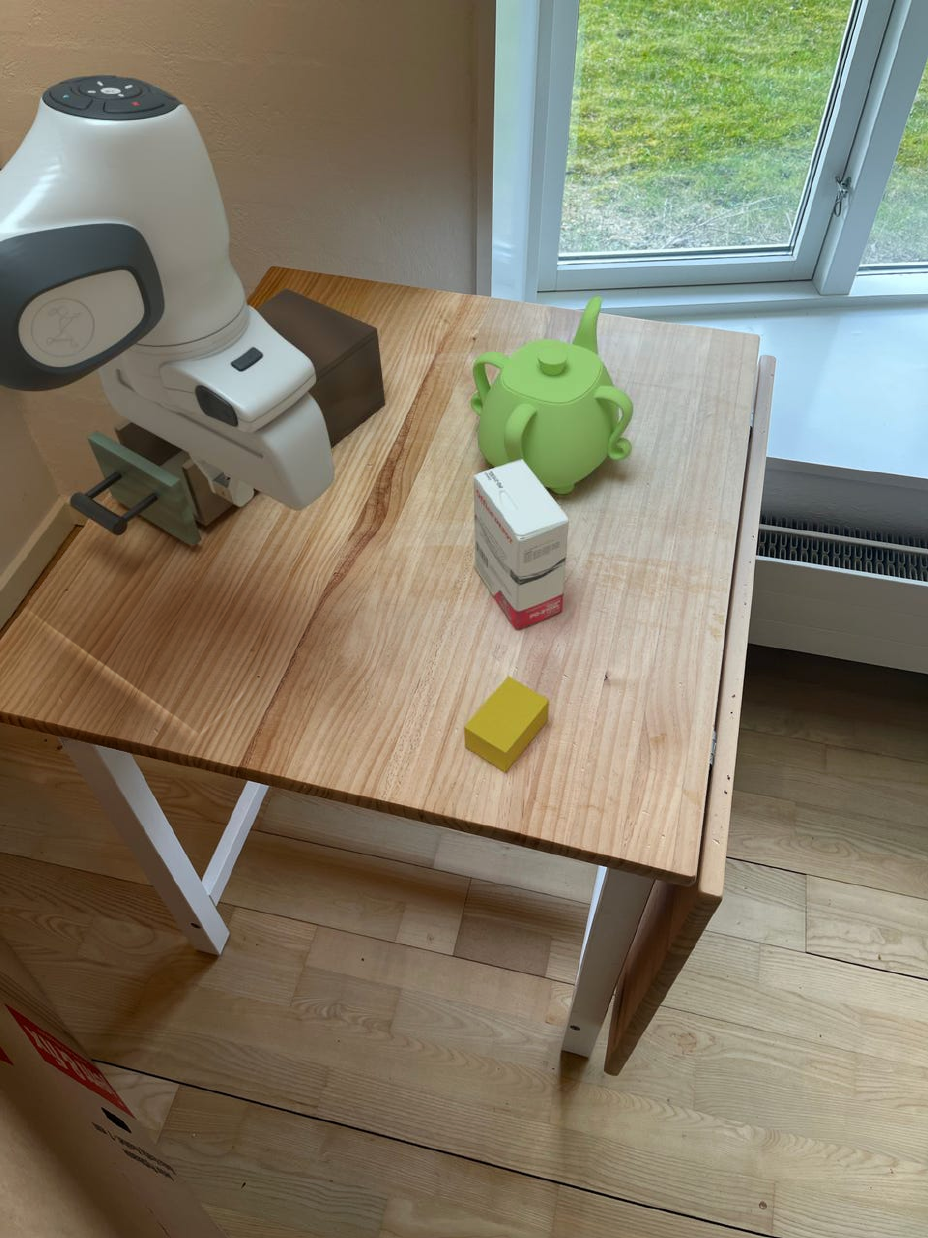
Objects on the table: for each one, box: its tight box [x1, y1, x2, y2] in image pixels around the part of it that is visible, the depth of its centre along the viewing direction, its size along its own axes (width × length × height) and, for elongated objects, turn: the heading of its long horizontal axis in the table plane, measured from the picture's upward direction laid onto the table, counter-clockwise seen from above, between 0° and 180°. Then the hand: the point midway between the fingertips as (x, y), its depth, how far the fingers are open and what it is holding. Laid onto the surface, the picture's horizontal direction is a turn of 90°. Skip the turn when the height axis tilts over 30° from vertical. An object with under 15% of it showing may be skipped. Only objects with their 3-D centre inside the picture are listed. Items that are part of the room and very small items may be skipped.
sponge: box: [463, 676, 550, 773], centre depth 75 cm, size 6×4×3 cm, turn 143°
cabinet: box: [254, 287, 386, 449], centre depth 98 cm, size 16×13×10 cm
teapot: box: [470, 295, 634, 495], centre depth 93 cm, size 16×14×13 cm
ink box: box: [473, 459, 570, 630], centre depth 81 cm, size 8×5×12 cm, turn 26°
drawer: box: [69, 418, 234, 548], centre depth 90 cm, size 20×11×8 cm, turn 143°
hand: (233, 495), depth 73 cm, fingers closed
